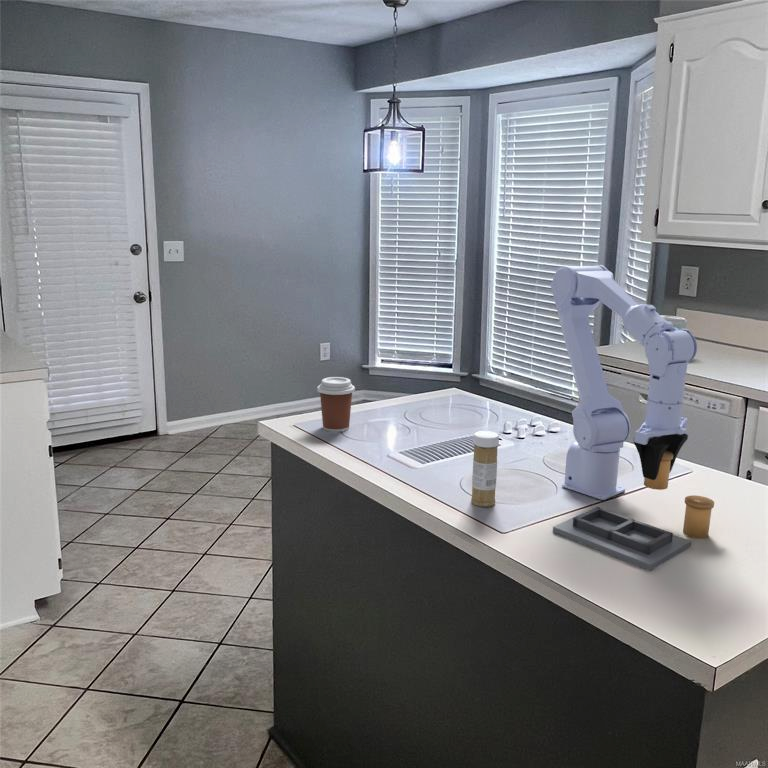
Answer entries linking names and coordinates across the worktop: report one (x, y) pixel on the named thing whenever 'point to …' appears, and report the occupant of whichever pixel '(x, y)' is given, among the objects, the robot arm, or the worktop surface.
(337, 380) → the coffee cup
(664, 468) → the jaw peg
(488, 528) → the worktop surface
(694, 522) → the jaw peg
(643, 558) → the housing
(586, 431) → the robot arm
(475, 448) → the sprinkles bottle
